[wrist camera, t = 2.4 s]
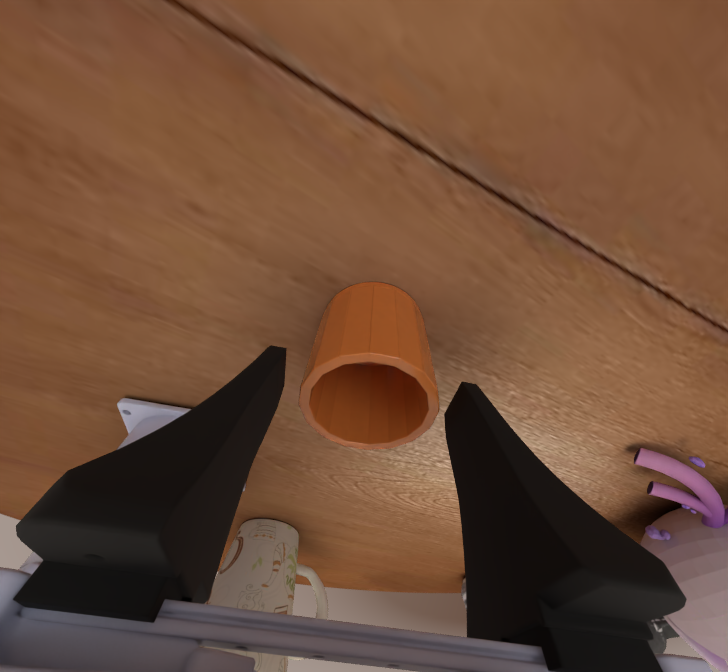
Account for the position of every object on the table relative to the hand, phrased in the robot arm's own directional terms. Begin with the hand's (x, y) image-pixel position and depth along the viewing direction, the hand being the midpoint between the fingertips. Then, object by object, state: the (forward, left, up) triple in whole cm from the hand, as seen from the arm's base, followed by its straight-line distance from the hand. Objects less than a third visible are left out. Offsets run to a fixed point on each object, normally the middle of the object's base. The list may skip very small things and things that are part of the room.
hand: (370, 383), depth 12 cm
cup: (0, 0, -4) cm, 4 cm away
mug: (-28, +3, -4) cm, 29 cm away
